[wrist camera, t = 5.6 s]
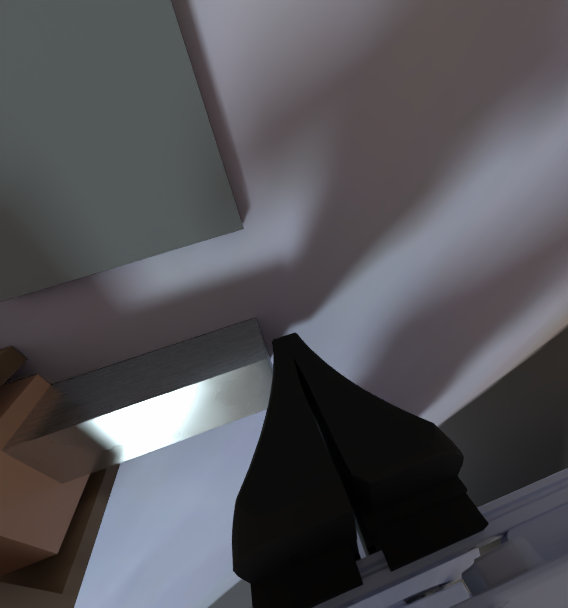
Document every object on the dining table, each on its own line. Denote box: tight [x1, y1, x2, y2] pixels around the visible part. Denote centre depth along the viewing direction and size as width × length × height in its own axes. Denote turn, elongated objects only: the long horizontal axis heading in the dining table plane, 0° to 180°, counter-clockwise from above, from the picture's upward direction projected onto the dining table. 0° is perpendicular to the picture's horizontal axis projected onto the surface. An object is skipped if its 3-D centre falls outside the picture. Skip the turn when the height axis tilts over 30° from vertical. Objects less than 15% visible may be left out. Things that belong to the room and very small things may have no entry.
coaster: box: [0, 0, 244, 302], centre depth 6 cm, size 9×9×1 cm
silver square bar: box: [2, 318, 273, 484], centre depth 11 cm, size 10×3×3 cm, turn 103°
